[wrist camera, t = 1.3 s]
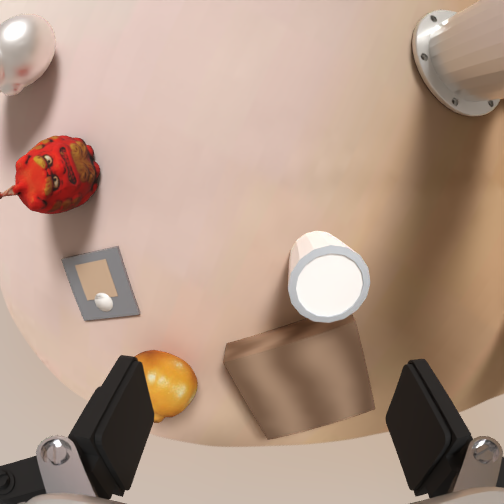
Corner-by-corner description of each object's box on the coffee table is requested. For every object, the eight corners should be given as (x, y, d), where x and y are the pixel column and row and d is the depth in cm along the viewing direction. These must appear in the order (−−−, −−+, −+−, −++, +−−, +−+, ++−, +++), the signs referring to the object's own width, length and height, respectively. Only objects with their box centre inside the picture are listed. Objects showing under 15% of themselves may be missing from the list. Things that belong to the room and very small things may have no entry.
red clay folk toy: (114, 187, 30) (18, 220, 16) (67, 216, 31) (-27, 262, 17) (86, 124, 28) (-16, 121, 14) (42, 158, 29) (-58, 175, 15)
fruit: (184, 396, 38) (171, 441, 31) (128, 367, 37) (106, 408, 29) (212, 356, 36) (201, 403, 28) (150, 323, 35) (125, 364, 27)
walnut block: (346, 302, 34) (355, 321, 30) (367, 388, 38) (375, 408, 34) (226, 341, 36) (223, 362, 32) (267, 418, 40) (268, 439, 36)
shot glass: (271, 242, 31) (273, 268, 25) (334, 213, 30) (354, 230, 24) (299, 299, 33) (307, 335, 27) (358, 272, 32) (380, 302, 25)
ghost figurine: (5, 63, 25) (-48, 53, 16) (57, 11, 23) (7, -14, 14) (24, 113, 27) (-35, 112, 18) (80, 59, 26) (25, 39, 16)
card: (118, 246, 32) (116, 247, 31) (140, 312, 34) (138, 314, 34) (63, 258, 33) (60, 259, 32) (85, 318, 35) (83, 320, 35)
